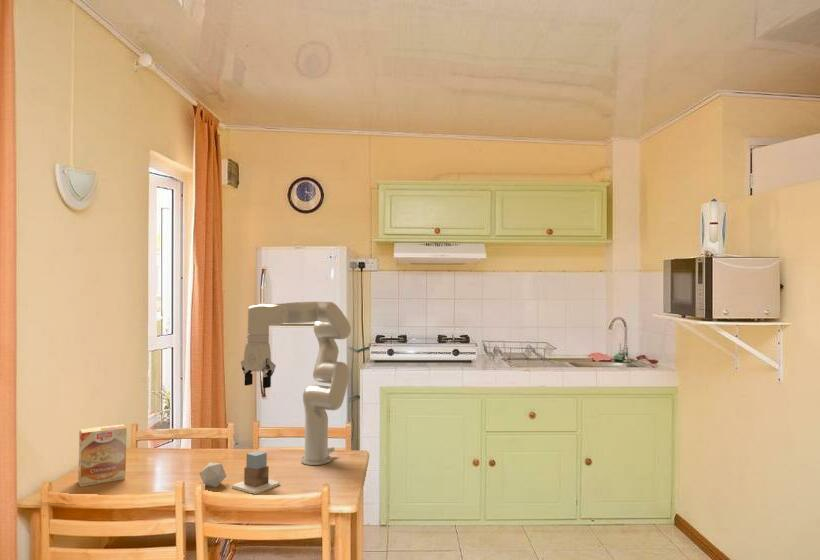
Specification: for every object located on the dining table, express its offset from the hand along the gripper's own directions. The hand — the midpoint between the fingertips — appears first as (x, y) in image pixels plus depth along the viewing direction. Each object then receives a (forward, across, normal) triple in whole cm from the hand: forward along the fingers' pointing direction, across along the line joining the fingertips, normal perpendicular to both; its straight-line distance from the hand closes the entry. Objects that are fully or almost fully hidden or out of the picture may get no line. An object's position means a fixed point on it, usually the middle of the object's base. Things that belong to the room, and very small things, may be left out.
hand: (257, 386), depth 204 cm
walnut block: (+35, 0, 0) cm, 35 cm away
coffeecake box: (+36, -52, -28) cm, 69 cm away
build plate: (+36, 0, 0) cm, 36 cm away
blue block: (+29, 0, 0) cm, 29 cm away
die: (+36, -14, -8) cm, 40 cm away
